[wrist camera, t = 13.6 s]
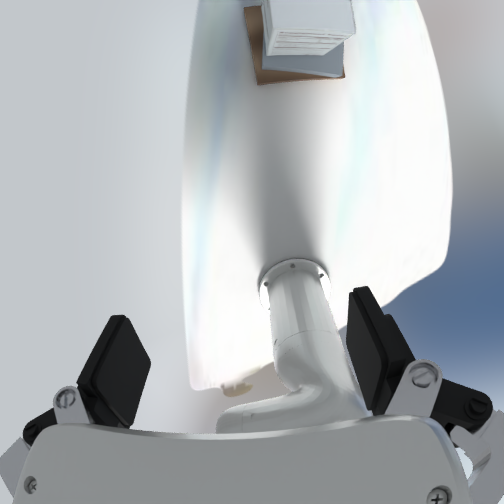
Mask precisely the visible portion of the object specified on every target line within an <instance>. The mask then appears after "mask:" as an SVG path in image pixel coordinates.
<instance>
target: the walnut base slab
mask: <svg viewBox="0 0 504 504" xmlns="http://www.w3.org/2000/svg"><path fill="white" fill-rule="evenodd" d="M261 6H262V5H261ZM261 6H252V7H244V14H245V19H246V25H247V30H248V35H249V40H250V46H251V51H252V57H253V62H254V68H255V73H256V79H257V85H264V84H272V83H282V82H292V81H305V80H323V79H342V78H345V73H344V67H343V73H342V76H340V77H337V78H333V77H327V76H321V75H314V74H306V73H298V72H288V71H277V70H262V52H263V33H264V24H263V15H262V9H261Z"/></svg>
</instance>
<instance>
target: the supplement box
mask: <svg viewBox="0 0 504 504" xmlns="http://www.w3.org/2000/svg"><path fill="white" fill-rule="evenodd" d="M261 9H262V15H263V24H264V34H265V43H266V55H267V56H275V55H321V56H323V55H325V54H326V53H328V52H329V51H331V50H332V49H333V48H335V47H336V46H338V45H339V44H340V43H342V42H343V41H345V40H346V39H348V38H349V37H351V36H352V35H354V34H355V33H356V27H355V21H354V14H353V8H352V2H351V0H262V6H261Z"/></svg>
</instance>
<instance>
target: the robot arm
mask: <svg viewBox="0 0 504 504" xmlns="http://www.w3.org/2000/svg"><path fill="white" fill-rule="evenodd" d="M330 289H331V285H330V280H329V277H328V275H327V273H326V271H325V270H324V269H323V268H322V267H321V266H320V265H318V264H317V263H315V262H313V261H310V260H306V259H289V260H286V261H283V262H280V263H278V264H276V265H275V266H273V267H272V268H270V269H269V270H268V271H267V272H266V274H265V275H264V277H263V278H262V280H261V283H260V287H259V297H260V301H261V303H262V305H263V307H264V308H265V309H266V310H267V311H268V312H269V313H270V320H271V331H272V343H273V355H274V366H275V371H276V373H277V376H278V377H279V379H280V380H281V382H282V383H283V384H284V385H285V386H286V387H287V388H288V389H289V390H291V391H292V393H288V394H285V395H283V396H279V397H275V398H270V399H266V400H261V401H256V402H252V403H247V404H242V405H238V406H234V407H231V408H229V409H227V410H226V411H224V412H223V413H222V414H221V415H220V417H219V419H218V421H217V425H216V434H187V433H186V434H185V433H166V432H152V431H142V430H132V429H129V428H130V426H131V425H132V424H133V423H134V419H135V416H136V412H137V409H138V405H139V402H140V398H141V395H142V392H143V389H144V386H145V382H146V379H147V376H148V373H149V370H150V366H151V361H150V358H149V356H148V355H147V353H146V351H145V349H144V347H143V345H142V343H141V342H140V340H139V337H138V335H137V334H136V332H135V330H134V327H133V325H132V324H131V321H130V320H129V318H126V316H125V315H113V316H111V317H110V319H109V321H108V323H107V324H106V326H105V328H104V330H103V332H102V334H101V335H100V337H99V339H98V341H97V343H96V345H95V346H94V348H93V350H92V352H91V354H90V356H89V358H88V360H87V362H86V364H85V366H84V368H83V370H82V372H81V374H80V376H79V378H78V380H77V382H76V383H77V384H78V387H77V388H76V387H73V386H66V387H64V388H62V389H60V390H59V391H58V392H57V393H56V395H55V397H54V399H53V406H54V407H53V408H52V409H50V410H48V411H47V412H45V413H43V414H42V415H40V416H38V417H36V418H35V419H33V420H32V421H30V422H29V423H27V425H26V426H25V428H24V430H23V439H22V438H21V437H20V438H19V439H18V440H17V441H16V442H15V443H14V444H13V445H12V446H11V447H10V448H9V449H8V450H7V451H6V452H5V453H4V454H3V455H2V456H1V457H0V475H1V477H2V479H3V481H4V482H5V484H6V486H7V488H8V490H9V491H10V493H11V495H12V496H13V498H14V500H13V504H497V503H498V502H499V501H500V499H501V498H502V496H503V495H504V413H503V412H502V411H500V410H498V411H497V412H496V411H495V410H493V405H492V401H491V400H490V398H489V397H488V396H487V395H486V394H484V393H482V392H480V391H477V390H474V389H471V388H468V387H465V386H463V385H460V384H456V383H454V382H451V381H449V380H446V379H443V378H442V371H441V369H440V367H439V366H438V365H437V364H436V363H434V362H432V361H430V360H425V359H421V360H416V359H415V358H414V356H413V354H412V352H411V350H410V348H409V346H408V344H407V342H406V340H405V339H404V337H403V335H402V333H401V331H400V330H399V328H398V326H397V324H396V322H395V321H394V319H393V317H392V316H391V315H390V314H386V315H384V314H383V312H382V310H381V308H380V306H379V305H378V303H377V301H376V299H375V298H374V296H373V294H372V292H371V290H370V289H369V287H368V286H364V287H358V288H354V290H353V292H350V293H349V305H348V322H347V335H346V345H347V349H348V351H349V354H350V357H351V361H352V364H353V367H354V370H355V373H356V376H357V379H358V382H359V385H358V383H357V381H356V379H355V377H354V375H353V372H352V370H351V367H350V365H349V362H348V359H347V357H346V354H345V351H344V348H343V345H342V341H341V338H340V335H339V332H338V329H337V327H336V324H335V321H334V318H333V315H332V312H331V309H330V306H329V303H328V301H327V300H328V298H329V295H330ZM359 386H360V387H359ZM371 410H372V411H371ZM372 413H373V414H372ZM458 447H460V448H461V449H463V450H464V451H465V455H466V456H467V457H469V458H470V459H471V461H472V463H473V472H472V474H471V475H470V477H469V479H468V480H467V479H466V475H465V472H464V469H463V467H462V464H461V461H460V458H459V456H458V453H457V451H456V449H455V448H458ZM430 491H431V492H430Z"/></svg>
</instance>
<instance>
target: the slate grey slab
mask: <svg viewBox="0 0 504 504" xmlns="http://www.w3.org/2000/svg"><path fill="white" fill-rule="evenodd" d="M343 48H344V41H343V42H342V43H340V44H339V45H338V46H336V47H335V48H333V49H332V50H331V51H329V52H328V53H326V54H325V55H323V56H321V55H275V56H267V55H266V43H265V34H264V33H263V52H262V70H277V71H288V72H298V73H306V74H314V75H321V76H327V77H333V78H337V77H340V76H342V73H343Z"/></svg>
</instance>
